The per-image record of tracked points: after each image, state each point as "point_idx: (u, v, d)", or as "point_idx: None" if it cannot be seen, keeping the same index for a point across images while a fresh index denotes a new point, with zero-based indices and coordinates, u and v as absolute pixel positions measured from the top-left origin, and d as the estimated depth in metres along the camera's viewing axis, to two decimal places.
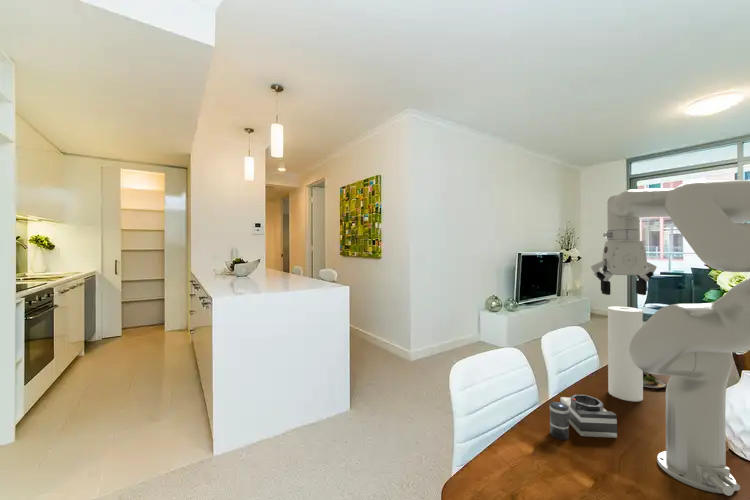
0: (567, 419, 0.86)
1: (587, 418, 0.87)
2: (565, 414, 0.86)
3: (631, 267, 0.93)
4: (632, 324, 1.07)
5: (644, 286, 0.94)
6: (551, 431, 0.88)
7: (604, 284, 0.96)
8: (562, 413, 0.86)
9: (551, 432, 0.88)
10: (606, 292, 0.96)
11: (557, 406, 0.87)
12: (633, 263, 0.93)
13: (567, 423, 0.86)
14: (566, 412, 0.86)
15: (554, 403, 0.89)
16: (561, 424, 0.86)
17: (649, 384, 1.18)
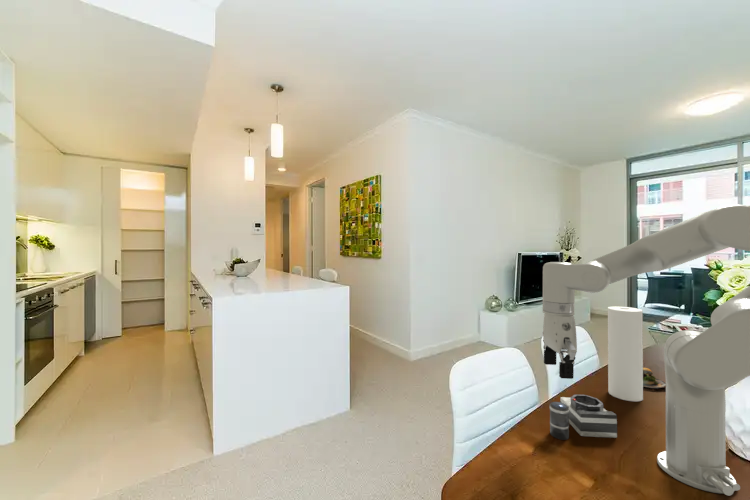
0: (567, 419, 0.86)
1: (587, 418, 0.87)
2: (565, 414, 0.86)
3: None
4: (632, 324, 1.07)
5: None
6: (551, 431, 0.88)
7: None
8: (562, 413, 0.86)
9: (551, 432, 0.88)
10: (570, 376, 0.83)
11: (557, 406, 0.87)
12: None
13: (567, 423, 0.86)
14: (566, 412, 0.86)
15: (554, 403, 0.89)
16: (561, 424, 0.86)
17: (649, 384, 1.18)
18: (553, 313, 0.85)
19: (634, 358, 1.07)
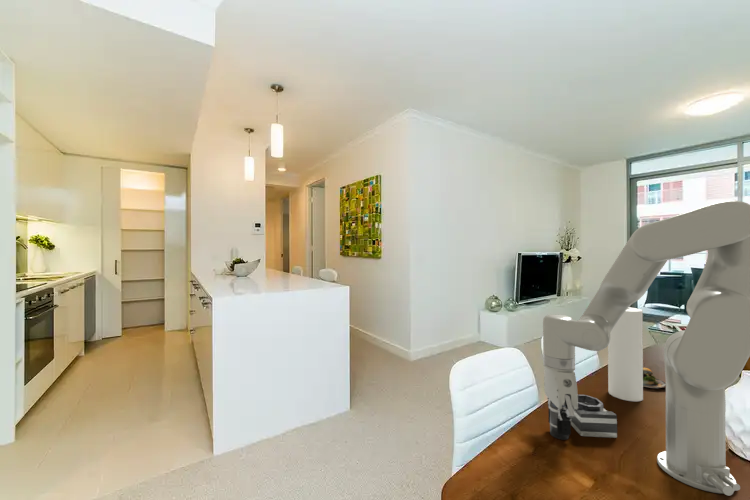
0: None
1: (587, 418, 0.87)
2: None
3: None
4: (632, 324, 1.07)
5: None
6: (551, 431, 0.88)
7: None
8: (562, 413, 0.86)
9: (551, 432, 0.88)
10: None
11: None
12: None
13: None
14: None
15: None
16: None
17: (649, 384, 1.18)
18: (554, 368, 0.85)
19: (634, 358, 1.07)
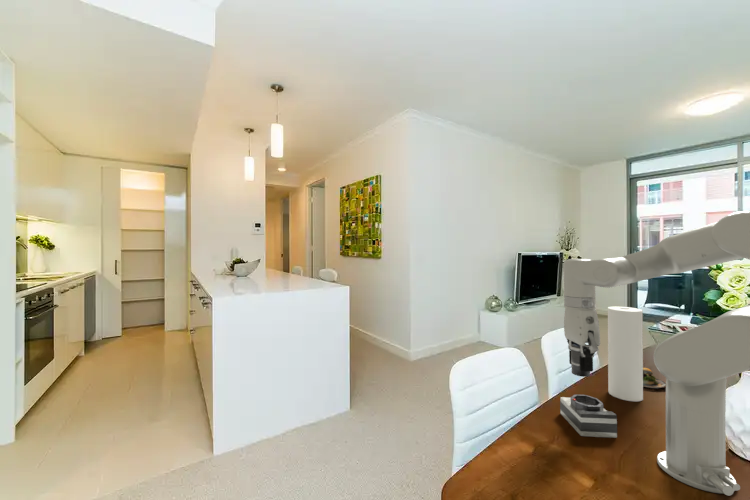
0: None
1: (587, 418, 0.87)
2: None
3: None
4: (632, 324, 1.07)
5: None
6: (573, 370, 0.91)
7: (590, 361, 0.88)
8: None
9: (573, 371, 0.91)
10: (590, 369, 0.89)
11: (578, 345, 0.91)
12: None
13: None
14: None
15: (575, 343, 0.92)
16: None
17: (649, 384, 1.18)
18: (576, 308, 0.89)
19: (634, 358, 1.07)
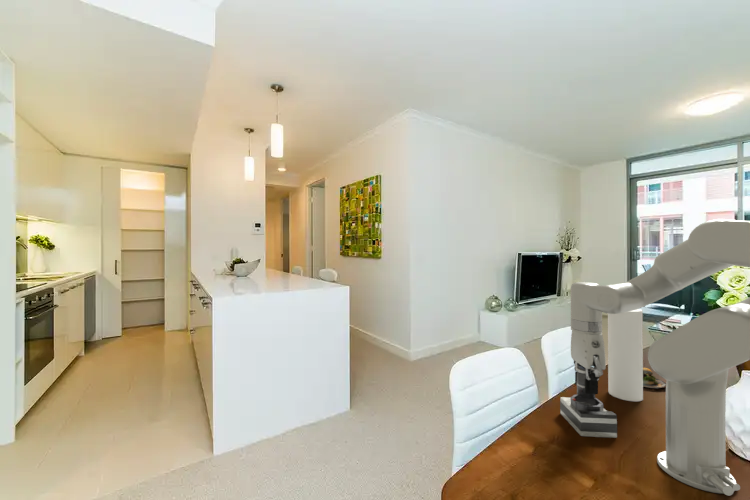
0: None
1: (587, 418, 0.87)
2: None
3: None
4: (632, 324, 1.07)
5: None
6: (578, 392, 0.93)
7: (595, 384, 0.90)
8: None
9: (578, 392, 0.93)
10: (595, 391, 0.90)
11: (584, 368, 0.92)
12: None
13: None
14: None
15: (581, 365, 0.94)
16: None
17: (649, 384, 1.18)
18: (582, 331, 0.90)
19: (634, 358, 1.07)
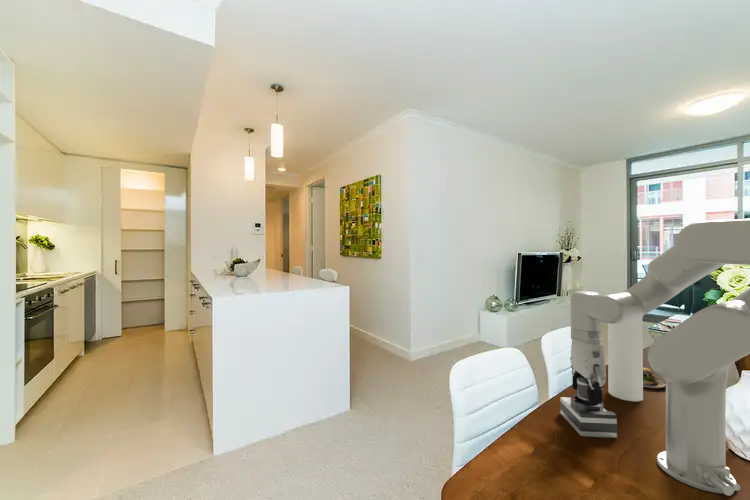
0: None
1: (587, 418, 0.87)
2: None
3: None
4: (632, 324, 1.07)
5: None
6: None
7: (599, 393, 0.88)
8: None
9: None
10: None
11: (585, 380, 0.92)
12: None
13: None
14: None
15: (581, 377, 0.94)
16: None
17: (649, 384, 1.18)
18: (582, 341, 0.90)
19: (634, 358, 1.07)
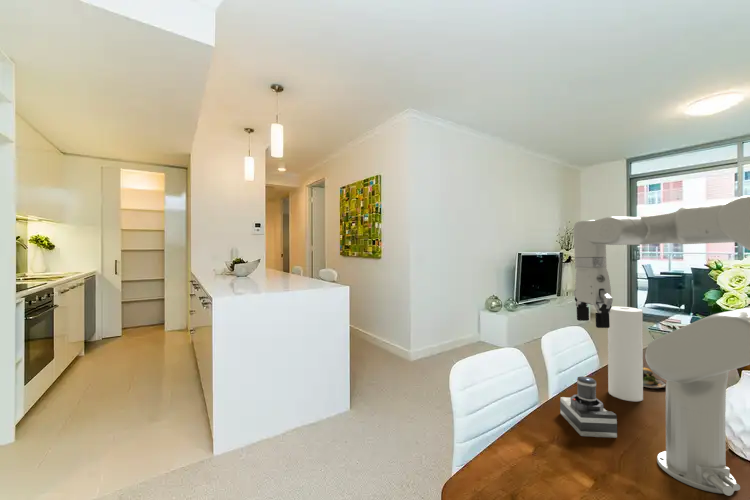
0: (594, 392, 0.91)
1: (587, 418, 0.87)
2: (592, 387, 0.91)
3: None
4: (632, 324, 1.07)
5: None
6: None
7: None
8: (590, 386, 0.91)
9: None
10: (606, 325, 0.87)
11: (585, 380, 0.92)
12: None
13: (594, 395, 0.91)
14: (594, 385, 0.91)
15: (581, 377, 0.94)
16: (589, 396, 0.91)
17: (649, 384, 1.18)
18: (587, 267, 0.90)
19: (634, 358, 1.07)
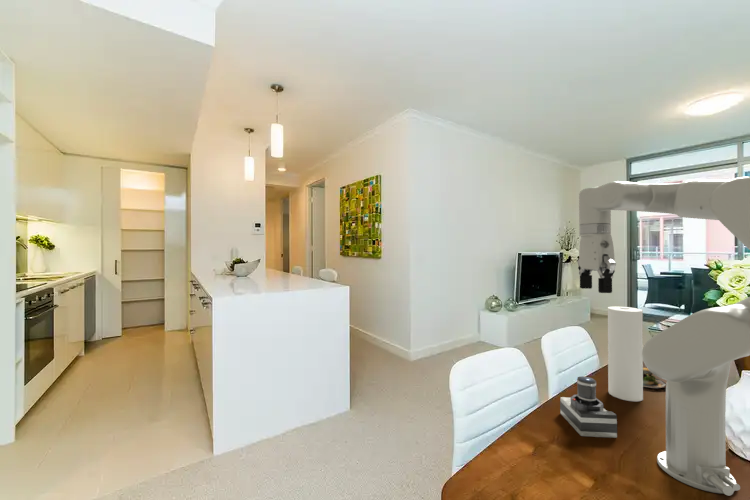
0: (594, 392, 0.91)
1: (587, 418, 0.87)
2: (592, 387, 0.91)
3: None
4: (632, 324, 1.07)
5: None
6: None
7: (609, 282, 0.88)
8: (590, 386, 0.91)
9: None
10: (609, 290, 0.88)
11: (585, 380, 0.92)
12: None
13: (594, 395, 0.91)
14: (594, 385, 0.91)
15: (581, 377, 0.94)
16: (589, 396, 0.91)
17: (649, 384, 1.18)
18: (591, 234, 0.91)
19: (634, 358, 1.07)
